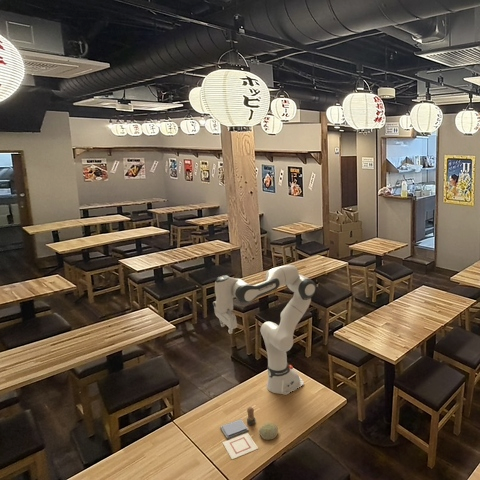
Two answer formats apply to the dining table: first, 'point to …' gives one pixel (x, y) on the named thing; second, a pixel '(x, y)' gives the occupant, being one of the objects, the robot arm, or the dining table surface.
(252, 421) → the stamp
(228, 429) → the ink pad
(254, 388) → the dining table surface
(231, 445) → the sheet
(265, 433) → the sea urchin shell
